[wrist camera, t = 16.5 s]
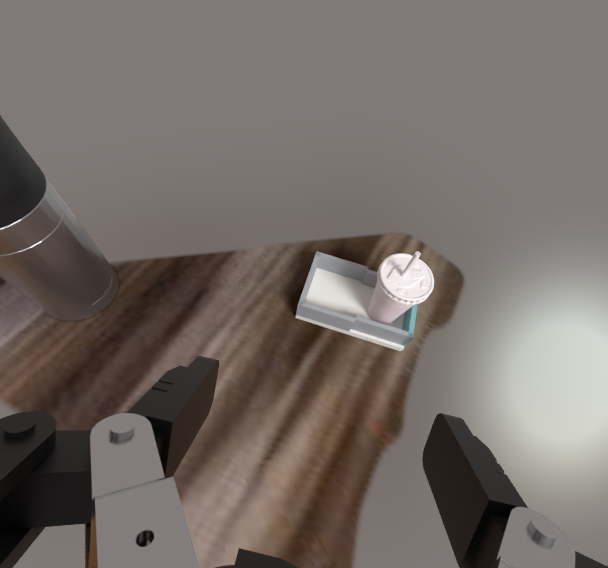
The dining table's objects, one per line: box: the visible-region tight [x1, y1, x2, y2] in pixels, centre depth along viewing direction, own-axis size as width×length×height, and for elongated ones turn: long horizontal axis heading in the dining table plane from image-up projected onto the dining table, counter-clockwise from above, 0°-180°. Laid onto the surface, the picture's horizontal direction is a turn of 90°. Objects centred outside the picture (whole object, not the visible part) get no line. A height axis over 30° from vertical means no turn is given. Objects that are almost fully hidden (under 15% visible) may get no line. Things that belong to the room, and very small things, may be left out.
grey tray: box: [296, 252, 417, 351], centre depth 45 cm, size 15×9×4 cm, turn 73°
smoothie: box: [368, 252, 434, 325], centre depth 40 cm, size 6×6×14 cm
